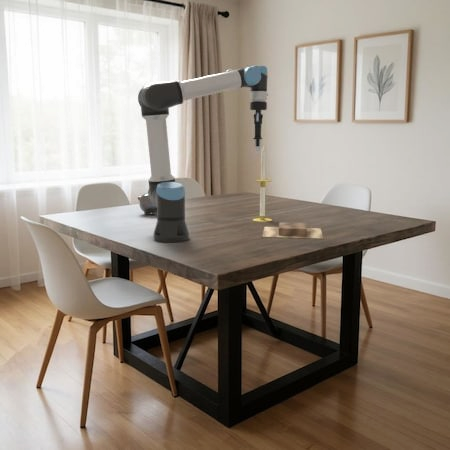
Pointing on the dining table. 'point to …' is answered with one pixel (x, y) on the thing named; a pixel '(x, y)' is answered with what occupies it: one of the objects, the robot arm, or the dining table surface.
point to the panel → (292, 229)
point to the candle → (262, 188)
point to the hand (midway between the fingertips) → (257, 153)
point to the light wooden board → (274, 232)
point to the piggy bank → (146, 205)
